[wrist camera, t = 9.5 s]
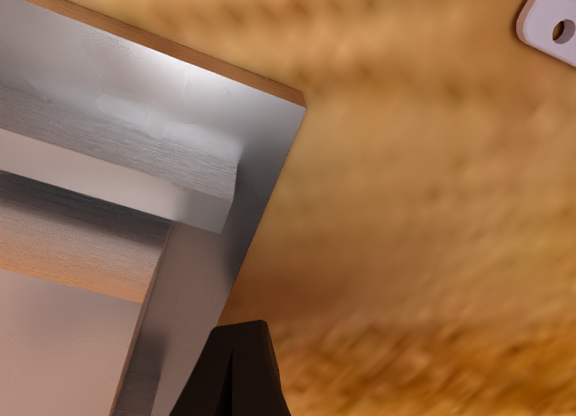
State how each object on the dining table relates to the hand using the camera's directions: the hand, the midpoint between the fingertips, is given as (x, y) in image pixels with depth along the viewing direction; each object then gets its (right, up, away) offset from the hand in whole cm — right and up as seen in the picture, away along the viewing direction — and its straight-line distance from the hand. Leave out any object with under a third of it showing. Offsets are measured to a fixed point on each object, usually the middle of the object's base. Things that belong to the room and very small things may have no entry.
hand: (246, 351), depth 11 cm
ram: (-5, +2, 0) cm, 5 cm away
